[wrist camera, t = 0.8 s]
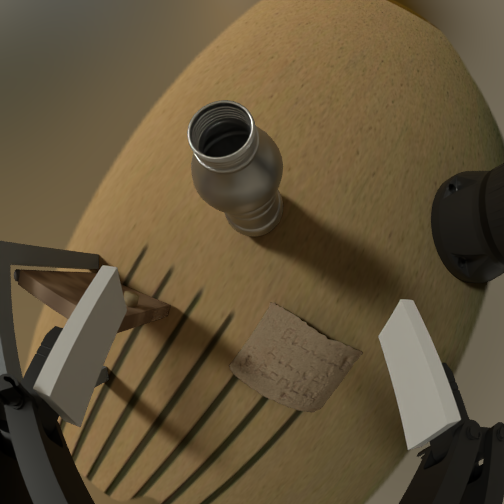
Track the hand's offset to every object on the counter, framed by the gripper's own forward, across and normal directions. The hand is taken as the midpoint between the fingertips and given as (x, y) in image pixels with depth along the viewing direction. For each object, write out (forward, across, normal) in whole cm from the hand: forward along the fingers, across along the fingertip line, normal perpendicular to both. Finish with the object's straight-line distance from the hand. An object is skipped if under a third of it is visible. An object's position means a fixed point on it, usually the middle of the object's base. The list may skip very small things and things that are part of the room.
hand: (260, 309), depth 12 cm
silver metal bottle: (+22, 0, -6) cm, 22 cm away
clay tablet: (+11, +7, -19) cm, 23 cm away
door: (+16, -15, -16) cm, 27 cm away
